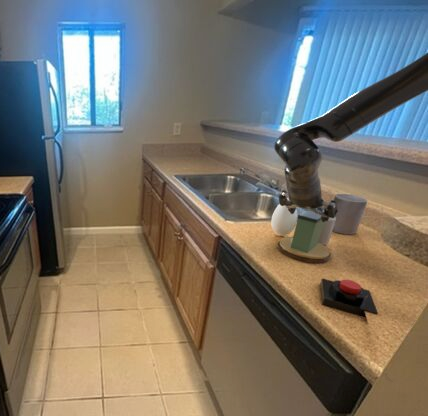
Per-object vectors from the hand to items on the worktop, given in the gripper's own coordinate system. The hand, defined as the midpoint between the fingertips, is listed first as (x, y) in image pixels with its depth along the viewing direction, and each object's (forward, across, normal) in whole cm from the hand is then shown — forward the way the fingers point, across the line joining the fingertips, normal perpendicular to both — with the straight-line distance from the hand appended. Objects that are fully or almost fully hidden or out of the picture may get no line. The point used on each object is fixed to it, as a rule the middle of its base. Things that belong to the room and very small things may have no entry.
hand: (308, 215), depth 87 cm
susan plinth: (+14, 0, +8) cm, 16 cm away
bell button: (-3, -16, +19) cm, 25 cm away
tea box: (+13, 0, +6) cm, 14 cm away
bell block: (0, -16, +22) cm, 27 cm away
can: (+22, 0, -1) cm, 22 cm away
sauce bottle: (+20, +10, +2) cm, 22 cm away
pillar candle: (+36, -3, -15) cm, 39 cm away
